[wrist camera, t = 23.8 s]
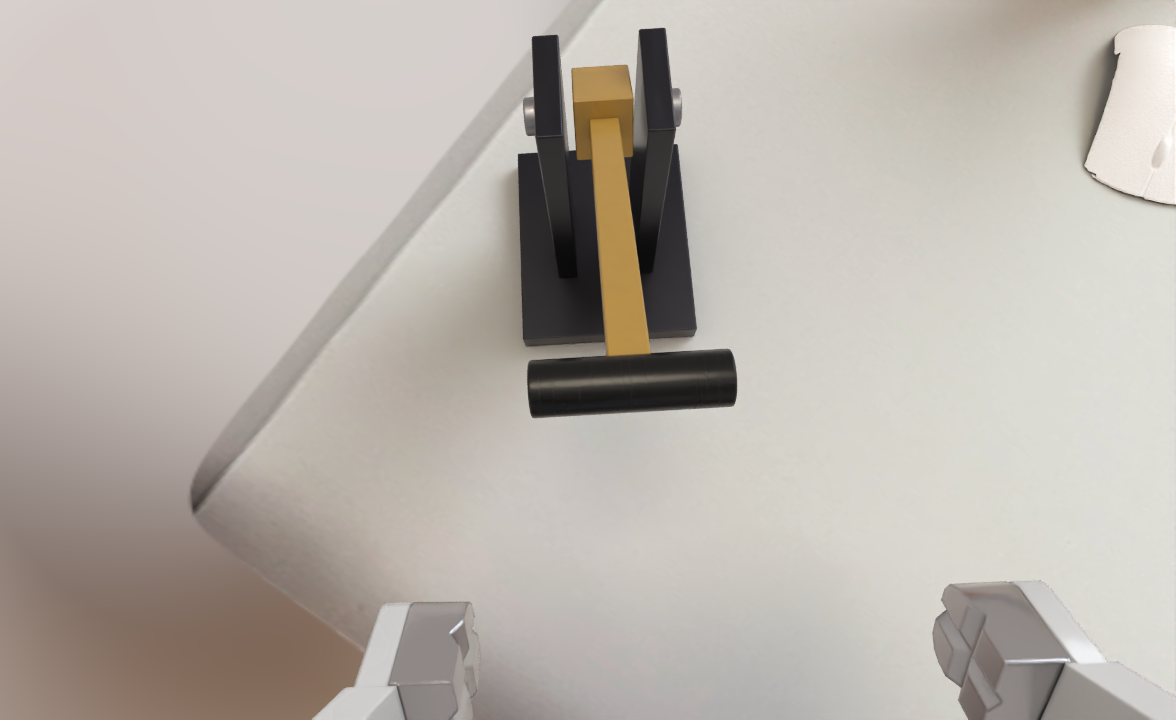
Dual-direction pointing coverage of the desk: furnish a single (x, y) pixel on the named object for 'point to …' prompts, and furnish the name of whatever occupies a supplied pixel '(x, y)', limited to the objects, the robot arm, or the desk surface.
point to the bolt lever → (621, 288)
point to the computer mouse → (1140, 117)
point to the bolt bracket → (567, 208)
